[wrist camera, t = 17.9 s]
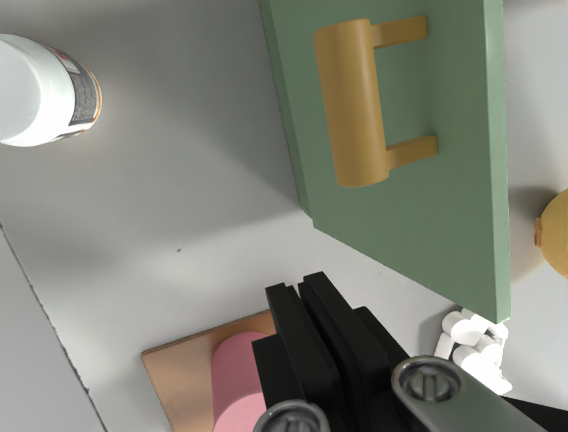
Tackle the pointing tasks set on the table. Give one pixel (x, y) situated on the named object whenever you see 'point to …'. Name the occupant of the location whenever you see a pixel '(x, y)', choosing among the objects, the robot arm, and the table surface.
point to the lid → (406, 136)
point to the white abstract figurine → (475, 347)
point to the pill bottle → (43, 93)
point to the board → (194, 372)
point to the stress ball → (554, 233)
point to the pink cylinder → (236, 384)
